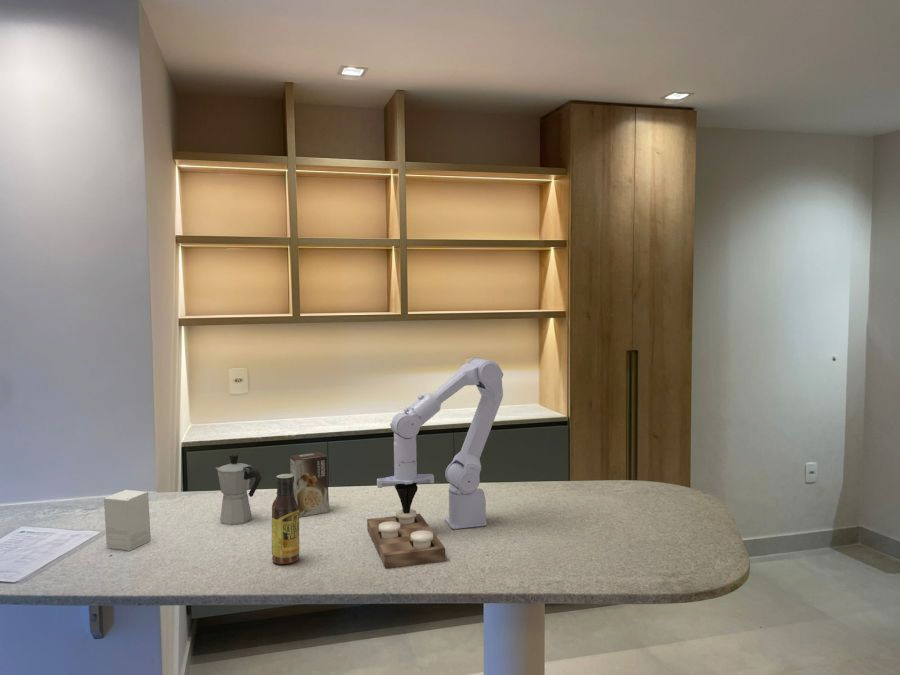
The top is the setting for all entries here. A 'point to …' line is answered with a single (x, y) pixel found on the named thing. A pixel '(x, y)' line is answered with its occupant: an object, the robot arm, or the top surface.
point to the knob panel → (404, 543)
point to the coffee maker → (236, 491)
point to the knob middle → (389, 529)
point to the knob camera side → (421, 539)
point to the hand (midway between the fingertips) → (406, 512)
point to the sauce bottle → (285, 522)
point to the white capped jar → (406, 516)
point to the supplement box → (127, 520)
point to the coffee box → (310, 483)
